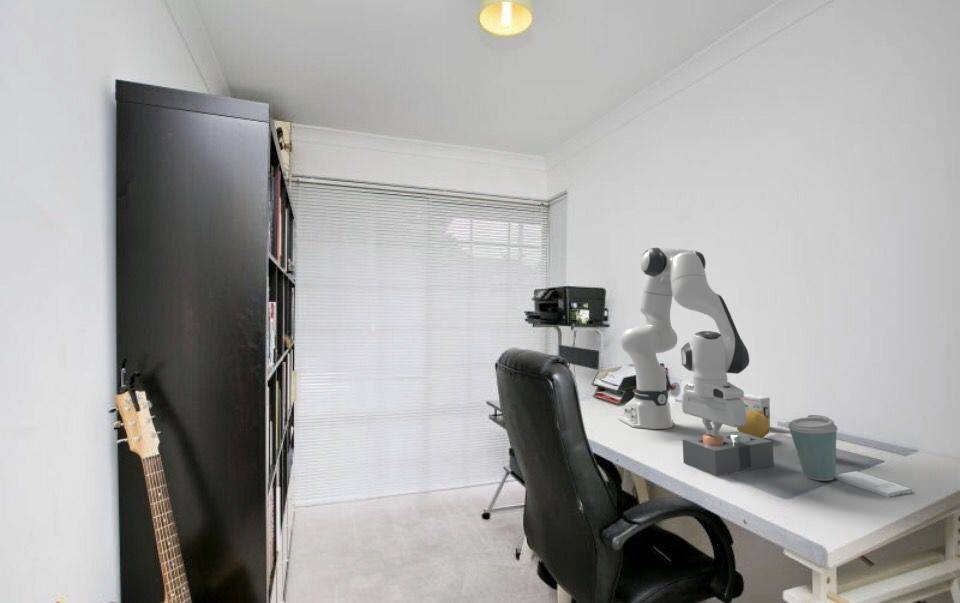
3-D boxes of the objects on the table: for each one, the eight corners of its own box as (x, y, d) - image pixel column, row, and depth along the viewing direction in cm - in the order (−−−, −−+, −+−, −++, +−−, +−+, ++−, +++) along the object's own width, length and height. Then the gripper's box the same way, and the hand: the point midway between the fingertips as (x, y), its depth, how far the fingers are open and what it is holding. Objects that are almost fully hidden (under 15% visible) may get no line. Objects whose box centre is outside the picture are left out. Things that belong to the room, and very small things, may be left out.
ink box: (740, 425, 171) (738, 394, 171) (749, 424, 173) (747, 393, 174) (762, 431, 163) (760, 398, 163) (771, 429, 165) (770, 397, 166)
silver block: (726, 457, 134) (725, 433, 134) (740, 455, 136) (739, 431, 136) (741, 462, 129) (740, 438, 129) (755, 460, 131) (754, 436, 131)
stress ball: (733, 441, 156) (741, 428, 148) (731, 415, 162) (739, 402, 154) (765, 447, 153) (776, 434, 146) (762, 421, 159) (772, 407, 151)
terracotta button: (699, 458, 131) (698, 434, 131) (713, 456, 133) (712, 432, 133) (714, 464, 126) (712, 439, 126) (728, 461, 128) (727, 437, 128)
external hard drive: (857, 476, 120) (912, 494, 108) (834, 480, 118) (888, 499, 106) (857, 470, 120) (912, 487, 108) (834, 474, 118) (887, 492, 106)
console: (683, 462, 134) (682, 439, 134) (738, 453, 140) (737, 431, 140) (715, 476, 122) (714, 450, 122) (773, 465, 128) (772, 441, 129)
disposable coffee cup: (807, 485, 115) (799, 426, 115) (786, 470, 125) (779, 416, 126) (854, 483, 113) (845, 423, 113) (828, 468, 123) (821, 413, 124)
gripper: (675, 383, 139) (677, 428, 139) (731, 394, 119) (733, 446, 119) (692, 381, 141) (694, 425, 141) (749, 392, 121) (751, 443, 121)
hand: (712, 435), depth 130 cm, fingers closed
